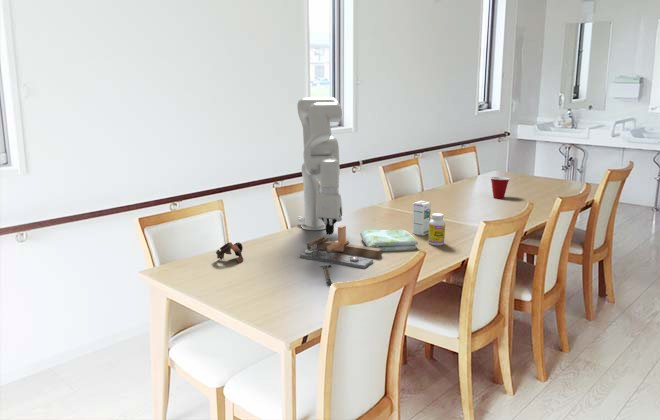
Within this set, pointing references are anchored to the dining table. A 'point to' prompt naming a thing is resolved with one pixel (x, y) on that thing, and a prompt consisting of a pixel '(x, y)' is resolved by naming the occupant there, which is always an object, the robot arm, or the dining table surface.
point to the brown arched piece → (227, 250)
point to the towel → (389, 239)
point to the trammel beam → (346, 248)
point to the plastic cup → (499, 186)
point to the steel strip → (336, 258)
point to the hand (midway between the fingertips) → (329, 233)
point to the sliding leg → (339, 240)
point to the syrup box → (421, 217)
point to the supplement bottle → (436, 229)
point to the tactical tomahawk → (327, 274)
